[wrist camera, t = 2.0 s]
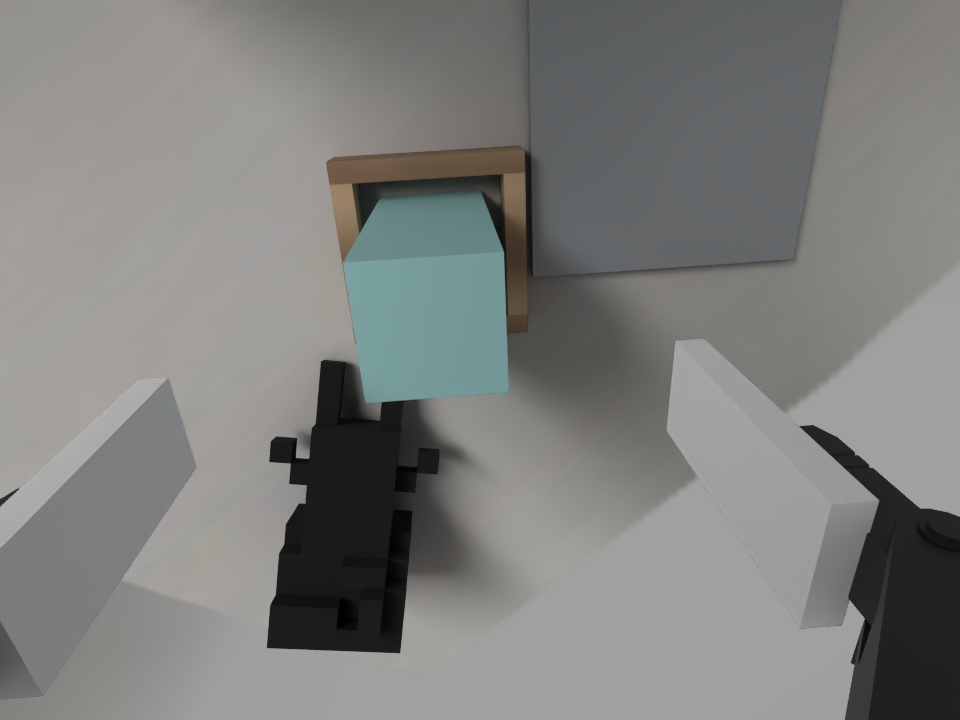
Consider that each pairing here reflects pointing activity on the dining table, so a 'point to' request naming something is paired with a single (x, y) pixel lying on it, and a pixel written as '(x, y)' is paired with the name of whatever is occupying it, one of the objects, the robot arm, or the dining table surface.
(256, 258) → the dining table surface
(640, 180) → the pad
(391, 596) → the toy
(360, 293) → the block
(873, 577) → the robot arm
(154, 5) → the dining table surface
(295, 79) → the dining table surface
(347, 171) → the wooden square frame
